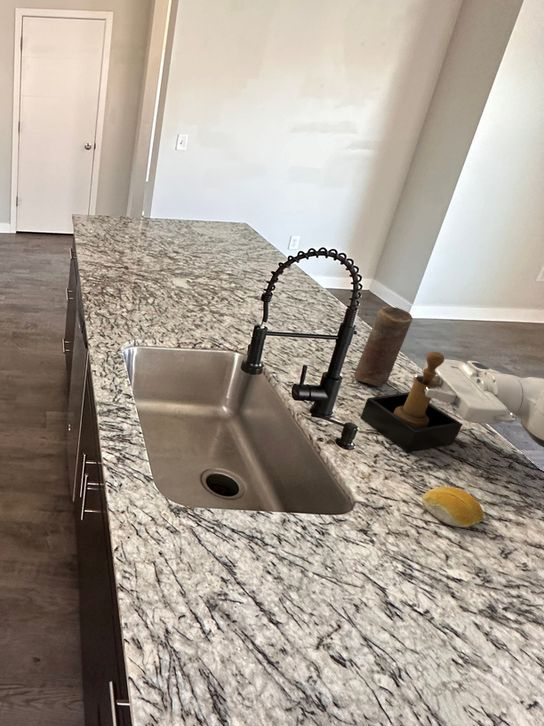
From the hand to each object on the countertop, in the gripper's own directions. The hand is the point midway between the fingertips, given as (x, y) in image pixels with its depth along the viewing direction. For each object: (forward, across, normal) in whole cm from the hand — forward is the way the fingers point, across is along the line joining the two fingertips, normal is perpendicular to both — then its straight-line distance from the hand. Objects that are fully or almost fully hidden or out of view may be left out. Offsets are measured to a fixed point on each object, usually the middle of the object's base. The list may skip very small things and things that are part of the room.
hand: (419, 384), depth 115 cm
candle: (-1, +21, -12) cm, 24 cm away
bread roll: (+1, -25, -12) cm, 28 cm away
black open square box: (-1, 0, -12) cm, 12 cm away
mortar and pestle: (-1, 0, -10) cm, 10 cm away
